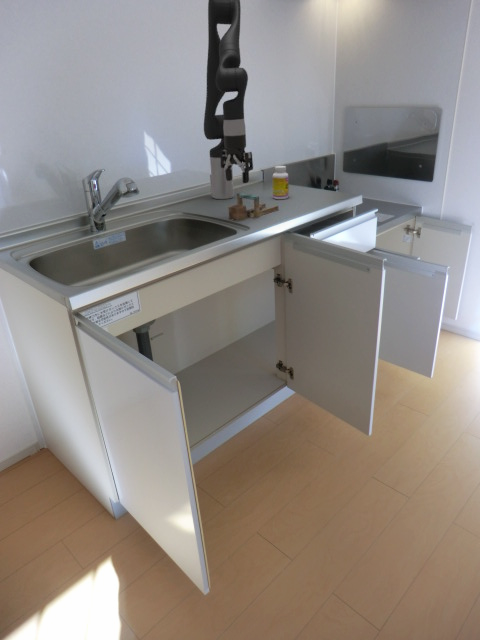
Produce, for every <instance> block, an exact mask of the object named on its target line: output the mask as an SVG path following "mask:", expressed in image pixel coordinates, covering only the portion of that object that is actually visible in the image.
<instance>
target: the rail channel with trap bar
mask: <svg viewBox="0 0 480 640" xmlns="http://www.w3.org/2000/svg"><path fill="white" fill-rule="evenodd" d="M236 198H237V199H236V200H237V201H236V202H237V204H238V205H244V204H243V199H246V200H252V201H253V206H254V212H253V213H250V217H249V218H250V219H253V218H260V216H263V215H266V214H270V213H272V212H276V211H279V205H275V206H271V207H267V208H266V206H267V205H266V203H264V202H263V203H260V196H258V195H252V194H246V193H243V192H238V193H236ZM237 204H236V205H237ZM259 206H262V210H259Z"/></svg>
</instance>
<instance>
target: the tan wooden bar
mask: <svg viewBox="0 0 480 640" xmlns="http://www.w3.org/2000/svg"><path fill="white" fill-rule="evenodd" d="M259 210H263V208H262V206H259ZM253 212H254V205H253V206H249V207H246V214H247V218H250V213H253Z"/></svg>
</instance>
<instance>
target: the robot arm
mask: <svg viewBox="0 0 480 640" xmlns="http://www.w3.org/2000/svg"><path fill="white" fill-rule="evenodd" d="M207 5H208V6H207V8H208V9H207V21H208V22H207V23H208V25H207V26H208V27H207V28H208V30H207V31H208V32H207V33H208V37H207V38H208V40H207V41H208V44H207V45H208V46H207V64H206V95H205V96H206V97H205V99H206V100H205V109H204V115H203V116H204V117H203V118H204V119H203V133H204V137H205V138H206V139H207V140H212V141H213V140H220V142H219V143H218V144H217V145H215V146H213V147H212V148H210V150H209V160H210V161H209V162H210V163H209V164H210V175H209V178H210V179H209V180H210V181H209V183H210V192H211V193H210V194H211V198H213V199H215V200H228V199H232V198H234V197H235V189H234V176H233V175H234V174H233V165H237V166H238V167H239V168H240V169H241V171H242V172H241V175H242V176H241V177H242V183H243V184H247V183H249V181H250V174H249V173H250V171H253V170H254V161H253V153H252V151H249V152H248V151H246V150H245V149H246V147H247V139H246V138H247V136H246V134H247V133H246V132H247V131H246V122H245V95H246V91H247V87H248V82H249V81H248V80H249V75H248V71H246V69H245V68H244V67H240V66H241V62H242V61H241V50H240V33H241V8H242V7H241V0H208V4H207ZM218 25H229V28H228V29H227V30H226V31H225V33H224V34H223V36H222V37H221V38H220V35H219V32H218ZM235 92H237V95H236V96H235V97H234V98H231V99H227V100H225V101H224V102H223V103H222V113H223V114H216V112H217V109H218V106H219V104H220V102H221V100H222V99H223V97H224V96H225V94H226V93H235Z"/></svg>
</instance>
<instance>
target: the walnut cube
mask: <svg viewBox="0 0 480 640" xmlns="http://www.w3.org/2000/svg"><path fill="white" fill-rule="evenodd" d="M246 208H247V206H246V205H244V204H243V205H238V204H234V205H230V206H228V219H229V220H231V219H233V220H232V221H236V220H237V221H236V222H239V221H242V219H243V220H245V219H247V218H248V217H247V214H246ZM238 220H239V221H238Z"/></svg>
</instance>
